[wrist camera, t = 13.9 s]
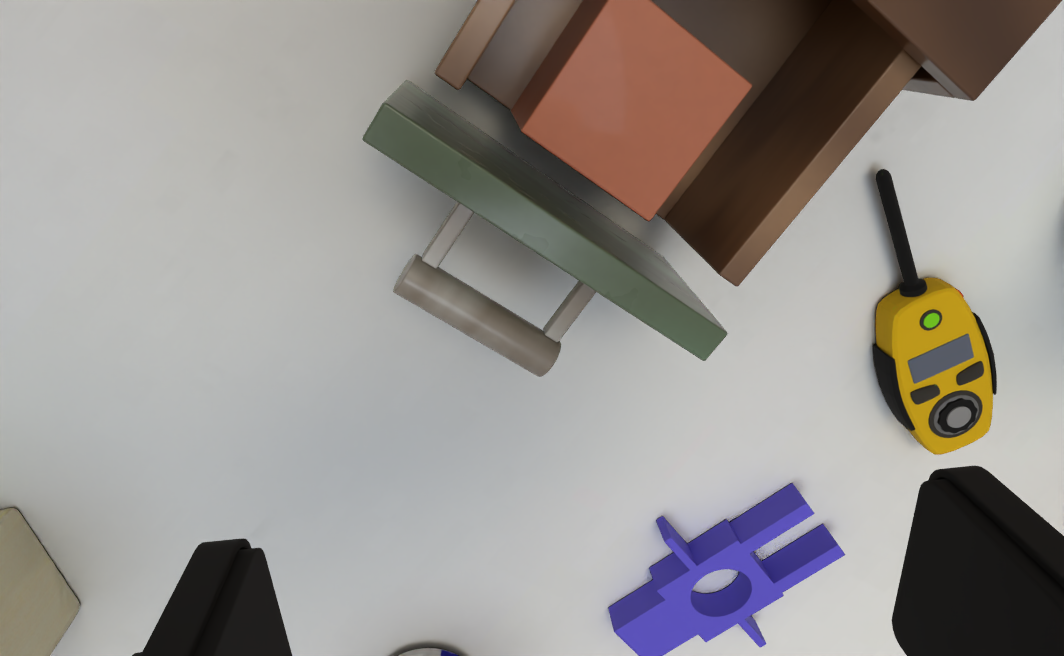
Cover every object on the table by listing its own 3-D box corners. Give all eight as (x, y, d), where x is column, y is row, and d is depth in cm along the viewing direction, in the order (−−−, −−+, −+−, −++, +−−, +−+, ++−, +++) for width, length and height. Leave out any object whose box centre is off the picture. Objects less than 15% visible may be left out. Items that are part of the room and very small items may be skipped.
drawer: (585, 357, 31) (622, 459, 23) (332, 203, 27) (284, 269, 20) (873, -10, 25) (1031, -23, 18) (609, -263, 22) (679, -400, 15)
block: (510, 111, 25) (520, 131, 20) (592, -15, 24) (622, -24, 19) (617, 188, 26) (649, 222, 22) (701, 74, 25) (753, 85, 21)
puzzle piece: (851, 562, 38) (867, 584, 37) (671, 670, 40) (679, 694, 39) (766, 448, 34) (780, 467, 33) (573, 573, 37) (578, 596, 35)
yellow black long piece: (920, 473, 34) (839, 203, 28) (897, 451, 35) (817, 192, 29) (1016, 431, 33) (956, 146, 27) (988, 410, 35) (925, 138, 29)
